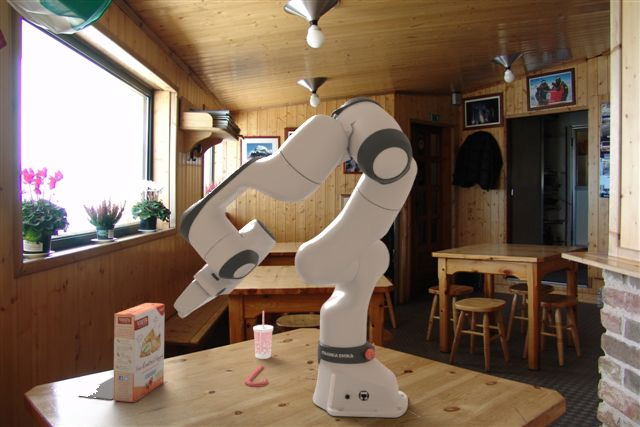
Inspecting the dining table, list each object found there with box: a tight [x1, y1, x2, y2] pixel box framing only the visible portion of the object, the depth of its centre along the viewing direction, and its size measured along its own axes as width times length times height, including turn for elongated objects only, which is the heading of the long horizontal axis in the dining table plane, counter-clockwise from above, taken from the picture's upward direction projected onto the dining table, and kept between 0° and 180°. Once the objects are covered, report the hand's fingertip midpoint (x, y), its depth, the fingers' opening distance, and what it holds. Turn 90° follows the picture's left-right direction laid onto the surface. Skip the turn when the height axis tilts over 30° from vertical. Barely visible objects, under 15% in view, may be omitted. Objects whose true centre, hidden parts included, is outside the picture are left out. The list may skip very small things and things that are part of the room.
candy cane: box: [244, 364, 269, 388], centre depth 135 cm, size 6×15×2 cm, turn 169°
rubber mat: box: [88, 376, 114, 401], centre depth 126 cm, size 9×13×1 cm
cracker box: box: [113, 302, 166, 403], centre depth 124 cm, size 14×6×21 cm, turn 168°
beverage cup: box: [252, 310, 274, 360], centre depth 153 cm, size 6×6×14 cm
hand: (182, 314), depth 120 cm, fingers closed
